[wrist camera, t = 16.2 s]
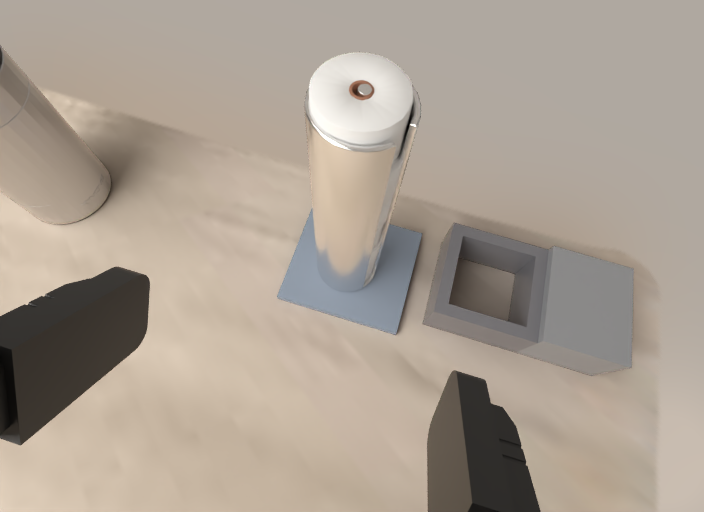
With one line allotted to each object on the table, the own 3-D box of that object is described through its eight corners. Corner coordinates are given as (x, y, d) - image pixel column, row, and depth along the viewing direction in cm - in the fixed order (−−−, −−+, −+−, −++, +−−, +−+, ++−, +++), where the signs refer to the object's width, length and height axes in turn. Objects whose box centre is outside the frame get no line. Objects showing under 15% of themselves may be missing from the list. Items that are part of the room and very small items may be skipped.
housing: (422, 324, 43) (436, 308, 37) (441, 242, 47) (456, 218, 41) (591, 375, 42) (631, 367, 36) (596, 287, 46) (633, 268, 40)
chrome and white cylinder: (326, 299, 43) (321, 150, 20) (310, 245, 45) (289, 55, 22) (384, 283, 44) (444, 124, 21) (366, 231, 46) (401, 36, 23)
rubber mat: (278, 298, 43) (277, 296, 43) (314, 205, 48) (314, 202, 47) (395, 334, 42) (396, 333, 42) (420, 236, 47) (422, 233, 46)
